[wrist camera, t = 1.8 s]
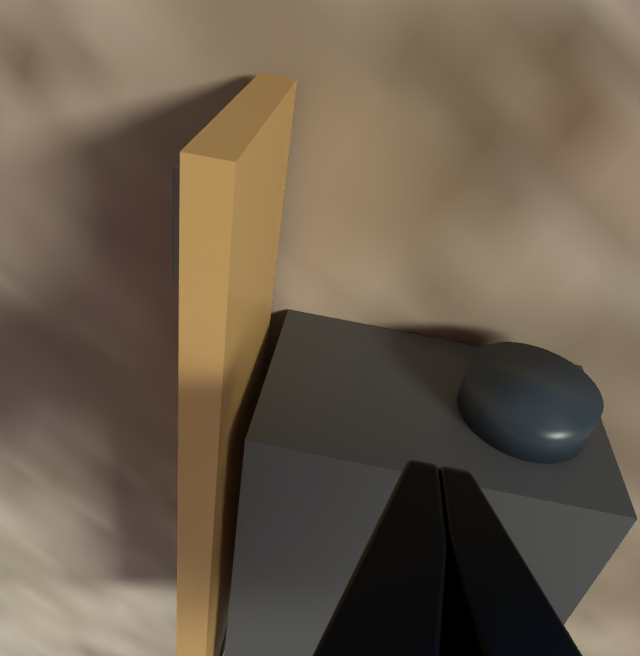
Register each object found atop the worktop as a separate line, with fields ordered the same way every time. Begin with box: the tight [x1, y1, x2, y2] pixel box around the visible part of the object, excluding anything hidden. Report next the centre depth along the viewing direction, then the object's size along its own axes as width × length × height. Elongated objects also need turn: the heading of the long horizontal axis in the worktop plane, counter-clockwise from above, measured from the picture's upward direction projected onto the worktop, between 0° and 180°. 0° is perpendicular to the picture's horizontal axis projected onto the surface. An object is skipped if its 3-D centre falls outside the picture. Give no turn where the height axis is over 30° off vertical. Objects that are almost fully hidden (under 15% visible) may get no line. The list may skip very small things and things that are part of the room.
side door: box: [173, 73, 297, 656], centre depth 16 cm, size 18×1×5 cm, turn 172°
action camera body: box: [224, 310, 637, 656], centre depth 17 cm, size 13×8×6 cm, turn 172°
